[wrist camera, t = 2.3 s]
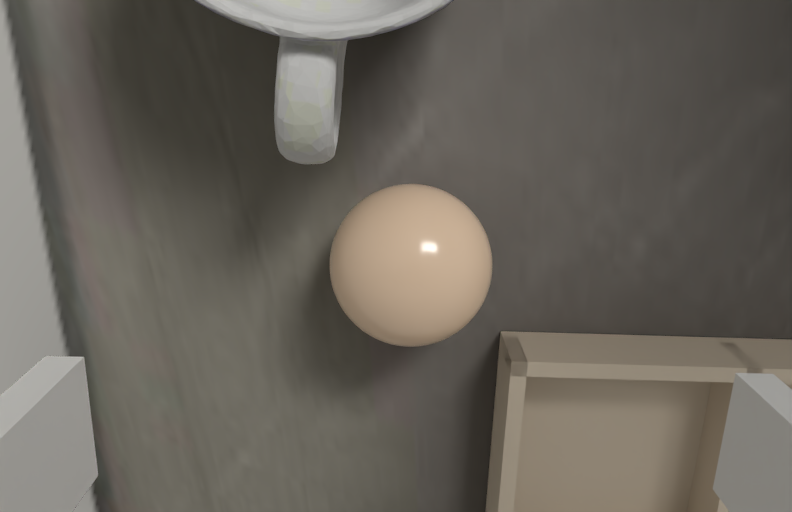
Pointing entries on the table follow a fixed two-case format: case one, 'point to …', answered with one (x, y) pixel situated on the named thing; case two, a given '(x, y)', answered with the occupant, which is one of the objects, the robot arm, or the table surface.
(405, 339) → the egg
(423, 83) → the table surface
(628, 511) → the carton
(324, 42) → the teacup
